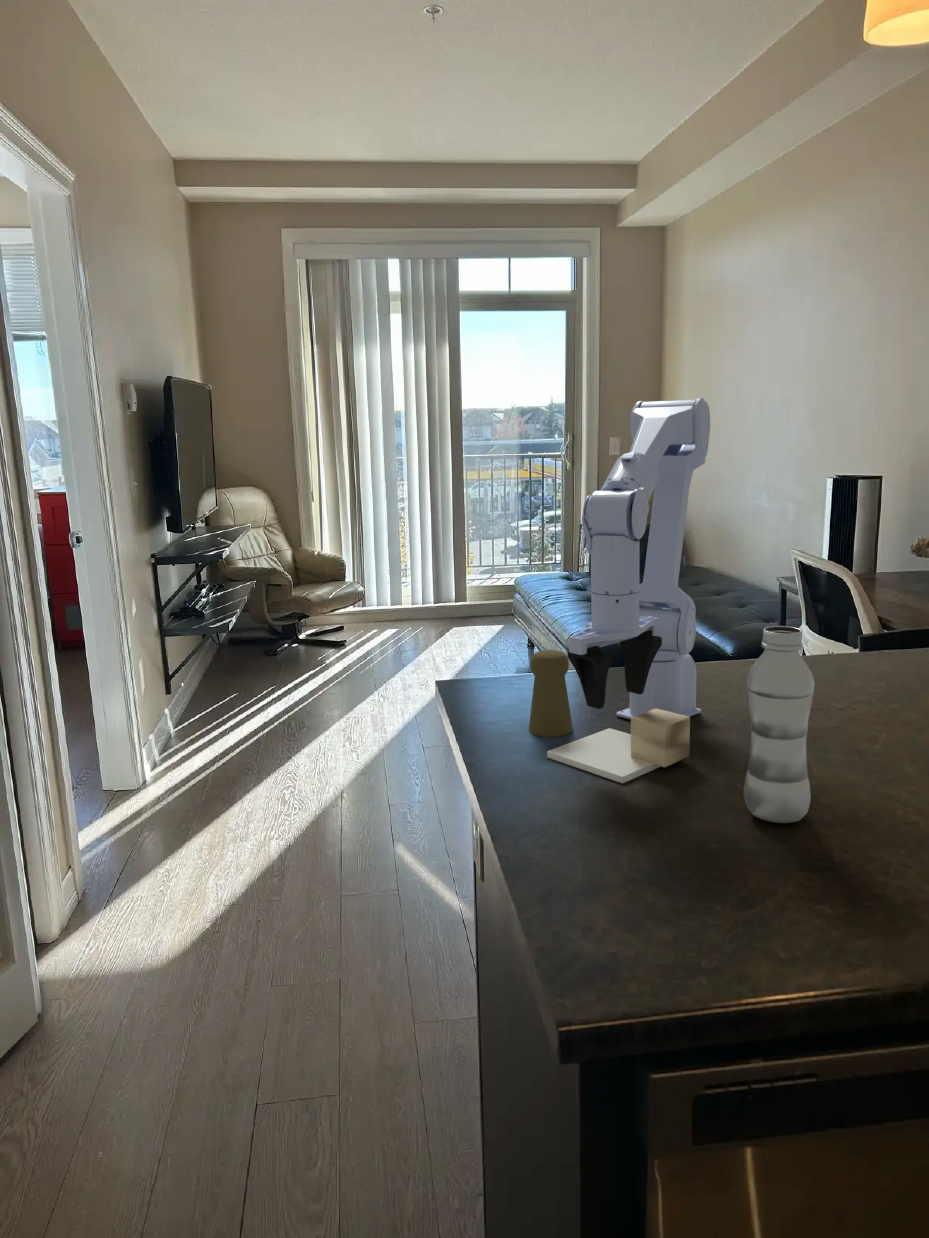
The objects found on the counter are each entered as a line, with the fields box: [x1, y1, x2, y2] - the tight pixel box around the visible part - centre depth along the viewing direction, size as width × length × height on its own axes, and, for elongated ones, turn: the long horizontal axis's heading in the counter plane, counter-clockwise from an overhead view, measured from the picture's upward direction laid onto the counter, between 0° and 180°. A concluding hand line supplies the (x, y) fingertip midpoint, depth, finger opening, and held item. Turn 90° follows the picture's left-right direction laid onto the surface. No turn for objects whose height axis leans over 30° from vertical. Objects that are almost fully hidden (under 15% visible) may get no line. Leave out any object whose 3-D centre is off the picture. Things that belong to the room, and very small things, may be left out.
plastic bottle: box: [743, 625, 816, 824], centre depth 91 cm, size 6×7×20 cm
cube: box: [630, 708, 691, 768], centre depth 108 cm, size 5×5×5 cm
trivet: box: [546, 727, 662, 784], centre depth 111 cm, size 12×12×1 cm
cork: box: [528, 649, 574, 738], centre depth 121 cm, size 6×6×11 cm
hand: (615, 699), depth 110 cm, fingers open, 7 cm apart
